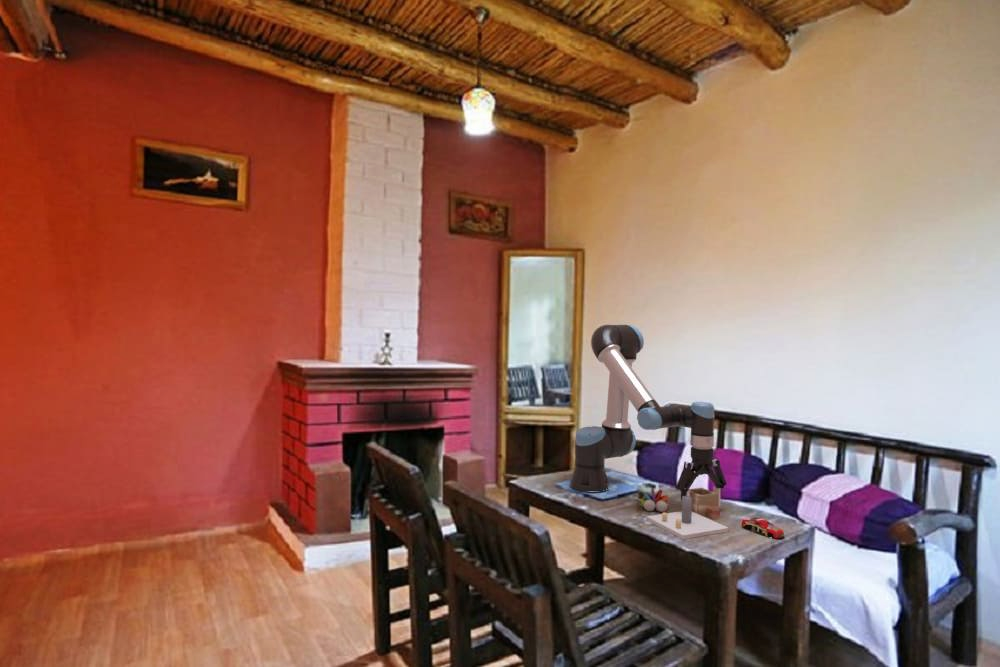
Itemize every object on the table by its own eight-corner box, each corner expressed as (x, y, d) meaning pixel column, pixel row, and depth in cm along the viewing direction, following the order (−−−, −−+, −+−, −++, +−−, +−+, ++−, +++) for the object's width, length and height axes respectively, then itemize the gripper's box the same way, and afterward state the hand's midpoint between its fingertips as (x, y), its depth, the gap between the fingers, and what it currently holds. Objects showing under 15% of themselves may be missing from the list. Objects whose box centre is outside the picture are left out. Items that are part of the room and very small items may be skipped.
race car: (787, 538, 174) (788, 525, 174) (776, 542, 171) (777, 528, 171) (749, 525, 185) (750, 512, 185) (739, 527, 183) (739, 515, 183)
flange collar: (683, 509, 199) (684, 489, 199) (701, 507, 202) (702, 487, 202) (707, 520, 188) (707, 499, 188) (725, 517, 192) (726, 496, 191)
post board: (646, 519, 188) (646, 492, 188) (689, 513, 195) (689, 487, 195) (683, 539, 171) (683, 509, 171) (728, 531, 178) (729, 502, 178)
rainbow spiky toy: (670, 514, 194) (670, 493, 194) (641, 512, 196) (641, 491, 196) (668, 506, 203) (668, 486, 203) (640, 504, 205) (640, 484, 205)
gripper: (680, 451, 188) (679, 515, 188) (737, 446, 198) (737, 507, 198) (665, 447, 195) (665, 508, 195) (721, 442, 205) (721, 501, 205)
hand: (701, 508), depth 197 cm, fingers open, 13 cm apart
